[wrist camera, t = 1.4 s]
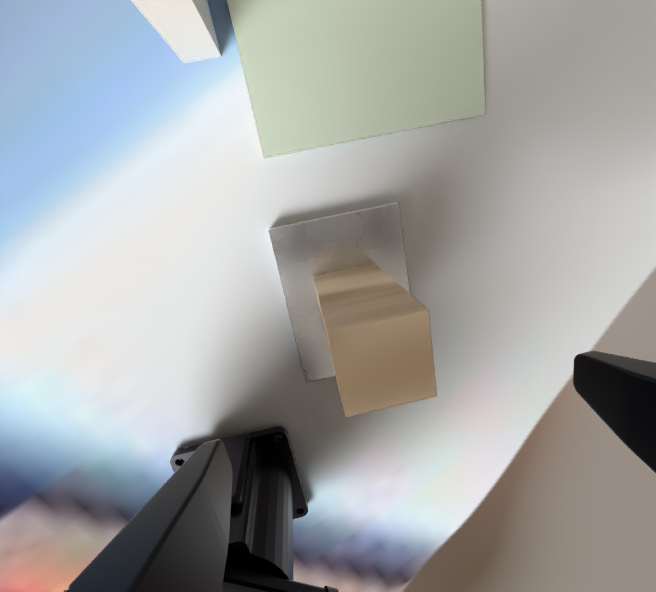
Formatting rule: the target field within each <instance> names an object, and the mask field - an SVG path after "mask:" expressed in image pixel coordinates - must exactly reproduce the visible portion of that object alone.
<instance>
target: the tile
mask: <svg viewBox="0 0 656 592" xmlns="http://www.w3.org/2000/svg"><path fill="white" fill-rule="evenodd" d="M131 1H132V2H133V3H134V4H135V5H136V7H137V8H138V9H139V10H140V11H141V13H142V14H143V15H144V16H145V17H146V19H147V20H148V21H149V22H150V23H151V24H152V26H153V27H154V28H155V29H156V30H157V32H158V33H159V34H160V35H161V36H162V38H163V39H164V40H165V41H166V42H167V43H168V45H169V46H170V47H171V48H172V49H173V51H174V52H175V53H176V54H177V55H178V57H179V58H180V59H181V60H182V61H183V63H189V62H194V61H200V60H205V59H211V58H216V57H221V53H220V49H219V45H218V41H217V37H216V33H215V29H214V25H213V21H212V17H211V13H210V9H209V5H208V1H207V0H131Z"/></svg>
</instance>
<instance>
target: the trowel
mask: <svg viewBox="0 0 656 592" xmlns="http://www.w3.org/2000/svg"><path fill="white" fill-rule="evenodd" d="M269 234H270V238H271V242H272V246H273V250H274V254H275V258H276V262H277V266H278V270H279V274H280V278H281V283H282V287H283V291H284V295H285V299H286V303H287V307H288V311H289V315H290V319H291V323H292V327H293V331H294V335H295V339H296V343H297V348H298V352H299V356H300V360H301V364H302V368H303V372H304V376H305V380H306V382H311V381H315V380H320V379H324V378H328V377H333V376H336V380H337V385H338V389H339V393H340V397H341V401H342V405H343V409H344V413H345V417H350V416H354V415H358V414H363V413H367V412H371V411H375V410H380V409H384V408H388V407H392V406H397V405H401V404H405V403H410V402H414V401H418V400H422V399H427V398H431V397H435V396H437V391H436V381H435V371H434V361H433V351H432V341H431V331H430V321H429V312H428V309H427V308H426V307H424V306H423V305H422V304H421V303H420V302H419V301H418V300H416V299H415V298H414V297H413V296H412V295H411V294H410V292H409V283H408V275H407V266H406V258H405V249H404V241H403V232H402V224H401V216H400V207H399V203H389V204H384V205H379V206H374V207H370V208H365V209H360V210H355V211H350V212H345V213H340V214H336V215H331V216H326V217H321V218H316V219H311V220H307V221H302V222H297V223H292V224H287V225H282V226H278V227H273V228H270V229H269Z"/></svg>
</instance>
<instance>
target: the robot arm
mask: <svg viewBox="0 0 656 592" xmlns="http://www.w3.org/2000/svg"><path fill="white" fill-rule="evenodd" d="M573 384H574V387H575V389H576V391H577V392H578V394H579V395H580V396H581V397H582V398H583V399H584V400H585V401H586V402H587V403H588V405H589V406H590V407H591V408H592V409H593V410H594V411H595V412H596V413H597V414H598V416H599V417H600V418H601V419H602V420H603V421H604V422H605V423H606V424H607V425H608V426H609V428H610V429H611V430H612V431H613V432H614V433H615V434H616V435H617V436H618V437H619V438H620V439H621V440H622V441H623V443H625V444H626V446H628V447H629V448H630V449H631V450H632V451H633V452H634V453H635V454H636V455H637V456H638V457H639V458H640V459H641V460H642V461H643V462H645V463H646V464H647V465H648V466H649V467H650V468H651V469H652V470H653V471H654V472H655V473H656V363H654V362H649V361H644V360H638V359H633V358H629V357H623V356H618V355H613V354H608V353H602V352H597V351H589V352H585V353H581V354H578V355H576V357H575V358H574V372H573ZM277 435H280V436H282V437H281V438H277V437H275V436H277ZM179 459H183V460H179ZM170 463H171V466H172V468H173V471H174V474H173V475H172V476H171V478H170V479H169V480H168V481H167V482H166V483H165V484H164V485H163V486H162V487H161V488H160V489H159V490H158V491H157V492H156V494H155V495H154V496H153V497H152V498H151V499H150V500H149V501H148V502H147V503H146V504H145V505H144V506H143V507H142V508H141V510H140V511H139V512H138V513H137V514H136V515H135V516H134V517H133V518H132V519H131V520H130V521H129V522H128V523H127V525H126V526H125V527H124V528H123V529H122V530H121V531H120V532H119V533H118V534H117V535H116V536H115V537H114V538H113V539H112V541H111V542H110V543H109V544H108V545H107V546H106V547H105V548H104V549H103V550H102V551H101V552H100V553H99V554H98V555H97V557H96V558H95V559H94V560H93V561H92V562H91V563H90V564H89V565H88V566H87V567H86V568H85V569H84V570H83V571H82V573H81V574H80V575H79V576H78V577H77V578H76V579H75V580H74V581H73V582H72V583H71V584H70V586H69V590H65V591H64V592H338V589H336V588H332V587H328V586H325V587H324V588H321V587H317V586H313V585H309V584H305V583H301V582H296V581H293V519H295V518H299V517H303V516H305V515H306V514H307V512H308V503H307V500H306V496H305V493H304V489H303V485H302V482H301V478H300V475H299V471H298V468H297V464H296V461H295V457H294V454H293V450H292V447H291V443H290V440H289V436H288V433H287V431H286V429H284V428H283V427H275V428H271V429H266V430H262V431H258V432H253V433H249V434H245V435H240V436H236V437H231V438H227V439H223V440H220V439H216V440H212V441H208V442H204V443H203V444H202V445H198V446H193V447H189V448H185V449H180V450H177V451H176V452H174V454H173V456H172V458H171V461H170Z"/></svg>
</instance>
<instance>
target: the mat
mask: <svg viewBox="0 0 656 592" xmlns="http://www.w3.org/2000/svg"><path fill="white" fill-rule="evenodd" d="M227 3H228V7H229V12H230V16H231V20H232V25H233V29H234V33H235V37H236V42H237V46H238V50H239V54H240V59H241V63H242V67H243V71H244V76H245V80H246V84H247V88H248V93H249V97H250V101H251V105H252V110H253V114H254V118H255V122H256V127H257V131H258V135H259V140H260V144H261V148H262V152H263V157H264V158H268V157H273V156H278V155H283V154H288V153H293V152H298V151H303V150H308V149H313V148H318V147H323V146H328V145H333V144H339V143H344V142H349V141H354V140H359V139H364V138H369V137H374V136H379V135H384V134H389V133H394V132H399V131H404V130H409V129H414V128H419V127H425V126H430V125H435V124H440V123H445V122H450V121H455V120H460V119H465V118H470V117H475V116H480V115H484V114H485V89H484V61H483V32H482V4H481V0H227Z"/></svg>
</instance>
